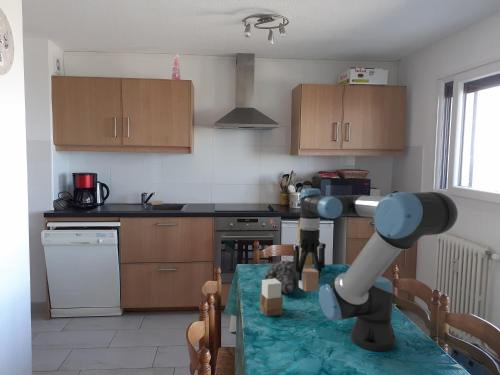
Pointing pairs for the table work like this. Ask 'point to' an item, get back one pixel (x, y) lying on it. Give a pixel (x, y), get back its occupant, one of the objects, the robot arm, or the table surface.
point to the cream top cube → (271, 288)
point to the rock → (283, 275)
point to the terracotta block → (310, 279)
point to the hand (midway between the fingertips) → (308, 287)
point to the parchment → (309, 257)
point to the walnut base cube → (271, 305)
